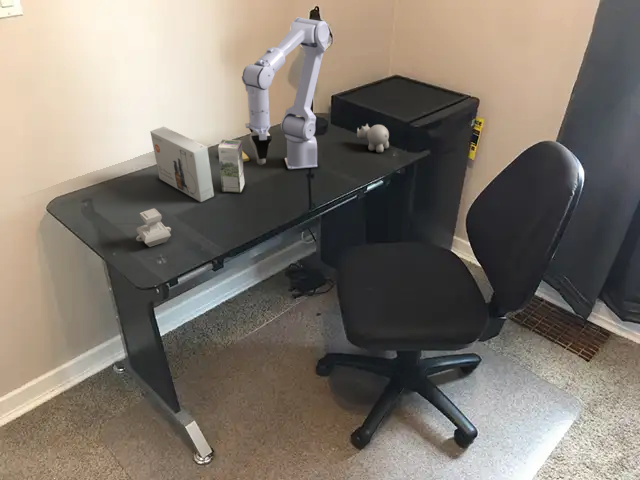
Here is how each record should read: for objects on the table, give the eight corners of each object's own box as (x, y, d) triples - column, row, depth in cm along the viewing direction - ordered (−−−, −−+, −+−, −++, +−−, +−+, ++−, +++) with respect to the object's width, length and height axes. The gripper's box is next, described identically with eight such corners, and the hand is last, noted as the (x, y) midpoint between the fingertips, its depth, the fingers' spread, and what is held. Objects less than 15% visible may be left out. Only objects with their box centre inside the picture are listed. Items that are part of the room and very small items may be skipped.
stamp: (167, 230, 148) (162, 202, 144) (176, 242, 144) (172, 213, 139) (133, 240, 144) (127, 212, 139) (142, 253, 139) (136, 224, 135)
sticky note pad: (241, 151, 190) (240, 149, 189) (249, 160, 184) (249, 157, 184) (219, 156, 187) (219, 153, 187) (227, 165, 181) (226, 162, 181)
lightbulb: (255, 170, 164) (253, 134, 158) (248, 162, 168) (245, 127, 162) (275, 166, 166) (273, 131, 160) (267, 158, 170) (265, 123, 164)
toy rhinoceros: (363, 139, 200) (364, 116, 195) (391, 148, 194) (393, 124, 189) (351, 146, 195) (352, 122, 190) (380, 155, 189) (382, 131, 184)
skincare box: (157, 179, 172) (149, 130, 164) (172, 173, 176) (165, 125, 167) (199, 203, 160) (193, 151, 152) (214, 196, 164) (209, 145, 155)
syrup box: (245, 184, 170) (241, 139, 163) (240, 193, 166) (237, 147, 158) (226, 183, 171) (222, 138, 163) (221, 192, 166) (217, 146, 158)
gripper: (241, 101, 163) (244, 144, 170) (247, 119, 151) (250, 165, 159) (266, 99, 164) (268, 143, 172) (273, 117, 152) (275, 163, 160)
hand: (261, 153), depth 165 cm, fingers closed on lightbulb, 6 cm apart
